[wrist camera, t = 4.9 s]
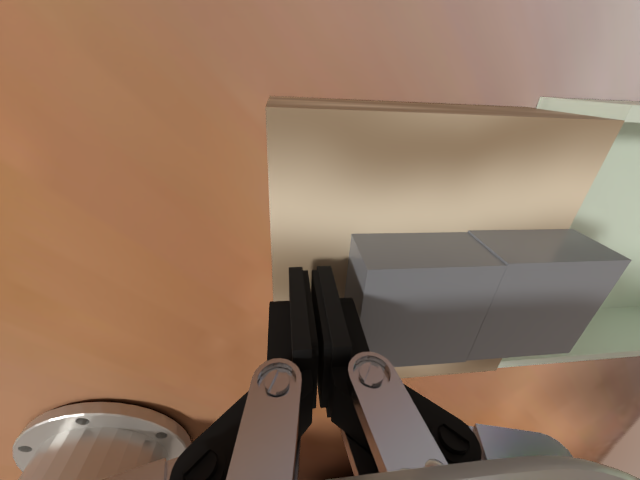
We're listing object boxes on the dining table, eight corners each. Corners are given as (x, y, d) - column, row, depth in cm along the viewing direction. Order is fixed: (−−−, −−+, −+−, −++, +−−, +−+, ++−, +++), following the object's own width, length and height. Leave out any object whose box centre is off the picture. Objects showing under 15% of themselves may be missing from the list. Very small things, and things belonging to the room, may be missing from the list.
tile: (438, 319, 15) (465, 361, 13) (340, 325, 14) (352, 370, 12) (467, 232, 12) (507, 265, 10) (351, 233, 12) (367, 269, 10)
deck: (453, 311, 22) (495, 370, 18) (277, 321, 20) (276, 388, 16) (525, 107, 15) (624, 120, 11) (269, 95, 13) (265, 106, 9)
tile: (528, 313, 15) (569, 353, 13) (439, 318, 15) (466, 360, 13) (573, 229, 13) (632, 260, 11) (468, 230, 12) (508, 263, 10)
